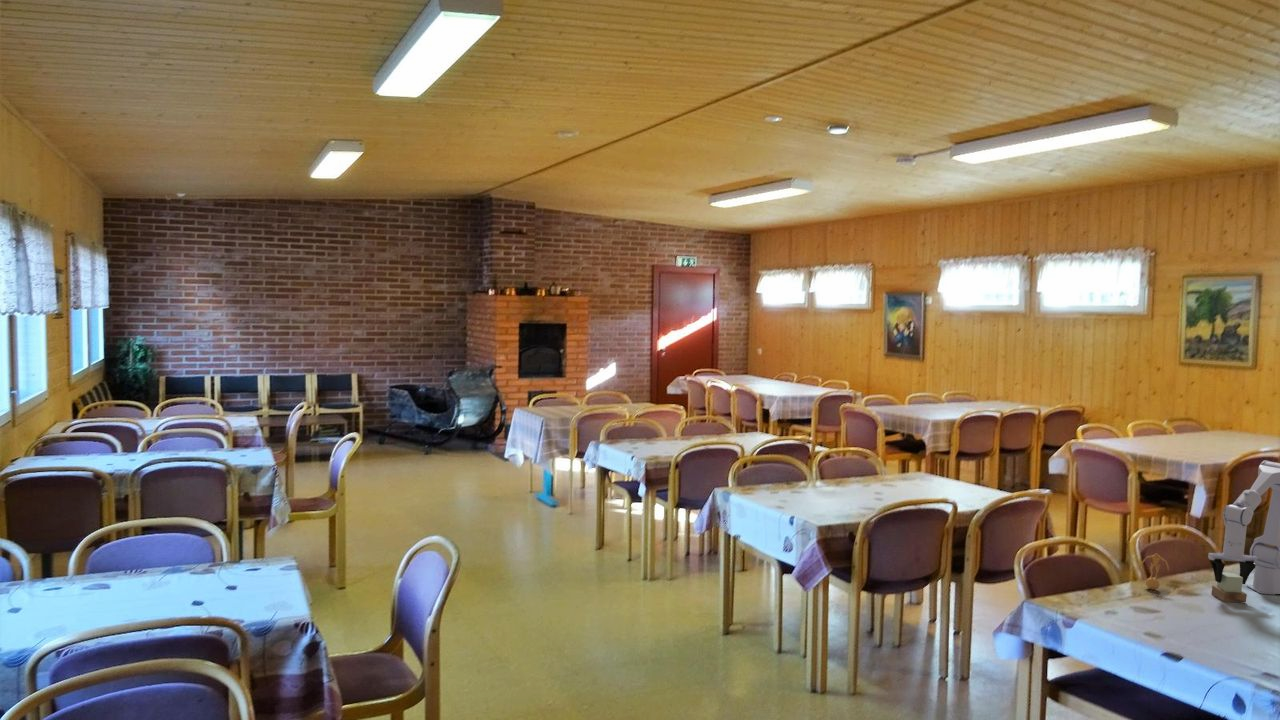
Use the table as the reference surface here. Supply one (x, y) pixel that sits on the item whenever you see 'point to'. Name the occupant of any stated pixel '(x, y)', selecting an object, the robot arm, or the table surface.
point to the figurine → (1152, 582)
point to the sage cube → (1230, 582)
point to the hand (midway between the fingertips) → (1230, 582)
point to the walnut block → (1228, 595)
